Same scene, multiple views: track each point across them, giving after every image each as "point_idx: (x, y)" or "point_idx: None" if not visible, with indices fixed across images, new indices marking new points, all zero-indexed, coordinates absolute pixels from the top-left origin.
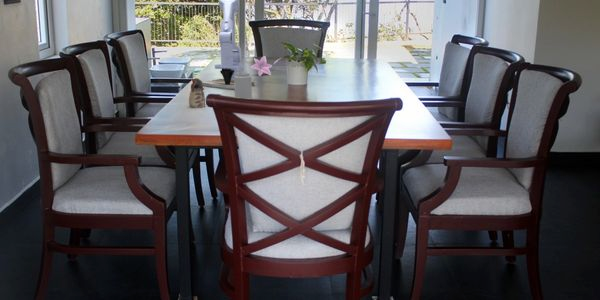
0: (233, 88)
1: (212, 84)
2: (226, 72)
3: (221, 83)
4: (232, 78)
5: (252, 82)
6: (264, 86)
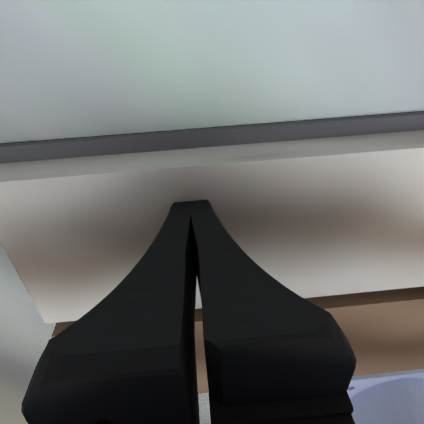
0: (27, 164)
1: (414, 143)
2: (85, 338)
3: (310, 225)
4: (374, 405)
5: None
6: (12, 392)
